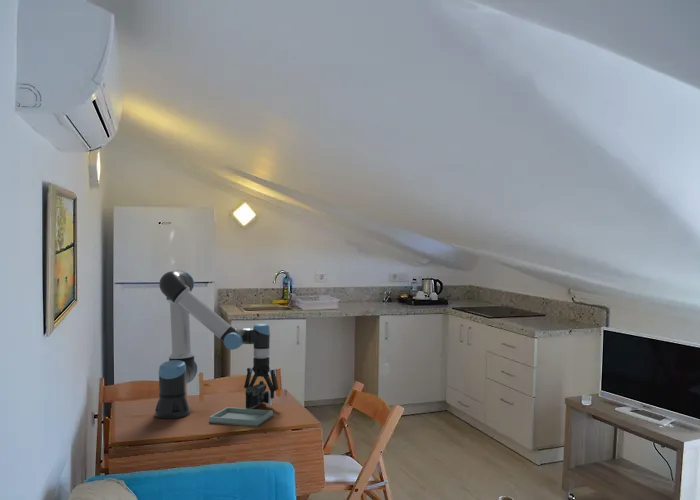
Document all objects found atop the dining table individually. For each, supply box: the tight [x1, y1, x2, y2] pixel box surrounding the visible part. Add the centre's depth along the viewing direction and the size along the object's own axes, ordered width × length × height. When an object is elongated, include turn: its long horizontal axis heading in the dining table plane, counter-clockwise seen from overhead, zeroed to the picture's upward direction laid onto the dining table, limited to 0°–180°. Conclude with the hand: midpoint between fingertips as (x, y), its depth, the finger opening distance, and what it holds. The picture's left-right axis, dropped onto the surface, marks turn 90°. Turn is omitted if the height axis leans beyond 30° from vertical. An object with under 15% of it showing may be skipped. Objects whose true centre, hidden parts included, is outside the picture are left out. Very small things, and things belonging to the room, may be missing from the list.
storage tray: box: [208, 406, 274, 428], centre depth 259 cm, size 23×17×2 cm
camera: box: [245, 380, 270, 409], centre depth 279 cm, size 18×9×10 cm, turn 165°
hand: (260, 404), depth 280 cm, fingers closed on camera, 9 cm apart
